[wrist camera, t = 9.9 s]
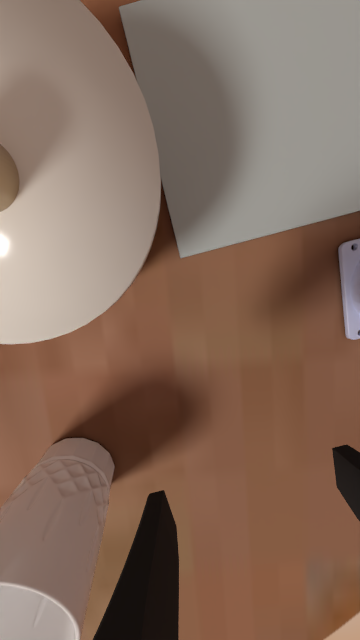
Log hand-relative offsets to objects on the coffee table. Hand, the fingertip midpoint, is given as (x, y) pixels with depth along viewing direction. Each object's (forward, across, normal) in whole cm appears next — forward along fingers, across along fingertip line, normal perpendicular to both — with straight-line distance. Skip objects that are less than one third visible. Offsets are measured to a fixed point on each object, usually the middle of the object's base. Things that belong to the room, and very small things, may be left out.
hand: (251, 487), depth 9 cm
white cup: (+11, +14, +6) cm, 19 cm away
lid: (+4, +7, -15) cm, 17 cm away
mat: (+10, -8, -18) cm, 22 cm away
